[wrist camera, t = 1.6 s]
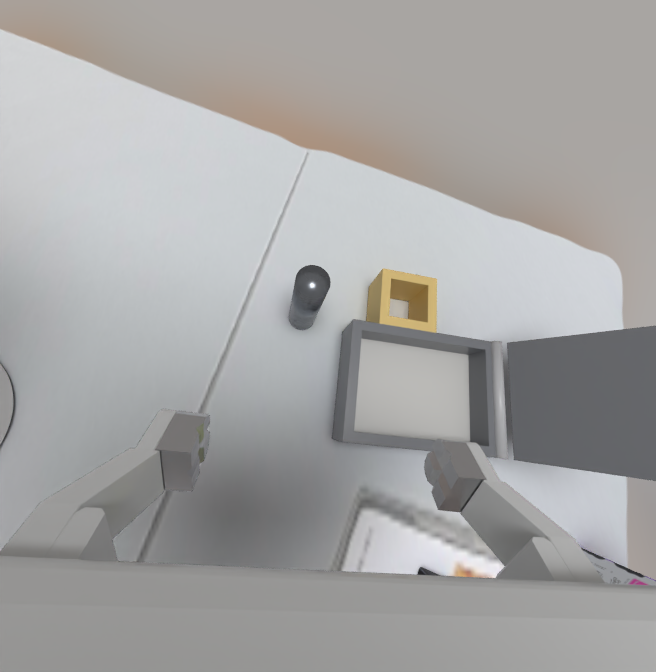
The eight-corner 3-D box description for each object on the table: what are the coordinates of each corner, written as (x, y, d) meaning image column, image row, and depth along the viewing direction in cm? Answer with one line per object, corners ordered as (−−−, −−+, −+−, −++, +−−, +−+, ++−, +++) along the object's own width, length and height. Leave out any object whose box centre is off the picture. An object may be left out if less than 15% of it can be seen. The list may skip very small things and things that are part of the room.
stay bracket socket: (365, 335, 36) (379, 323, 31) (368, 286, 38) (382, 268, 33) (415, 343, 37) (436, 332, 32) (416, 295, 39) (436, 278, 34)
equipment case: (332, 438, 33) (344, 442, 27) (342, 332, 36) (355, 317, 30) (474, 453, 35) (511, 459, 30) (472, 352, 38) (504, 342, 33)
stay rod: (287, 327, 35) (293, 294, 25) (290, 303, 36) (298, 262, 26) (312, 331, 35) (328, 300, 26) (315, 307, 36) (332, 268, 27)
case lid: (814, 504, 18) (810, 503, 18) (756, 313, 21) (755, 318, 22) (513, 459, 30) (517, 460, 30) (507, 342, 33) (510, 344, 34)
